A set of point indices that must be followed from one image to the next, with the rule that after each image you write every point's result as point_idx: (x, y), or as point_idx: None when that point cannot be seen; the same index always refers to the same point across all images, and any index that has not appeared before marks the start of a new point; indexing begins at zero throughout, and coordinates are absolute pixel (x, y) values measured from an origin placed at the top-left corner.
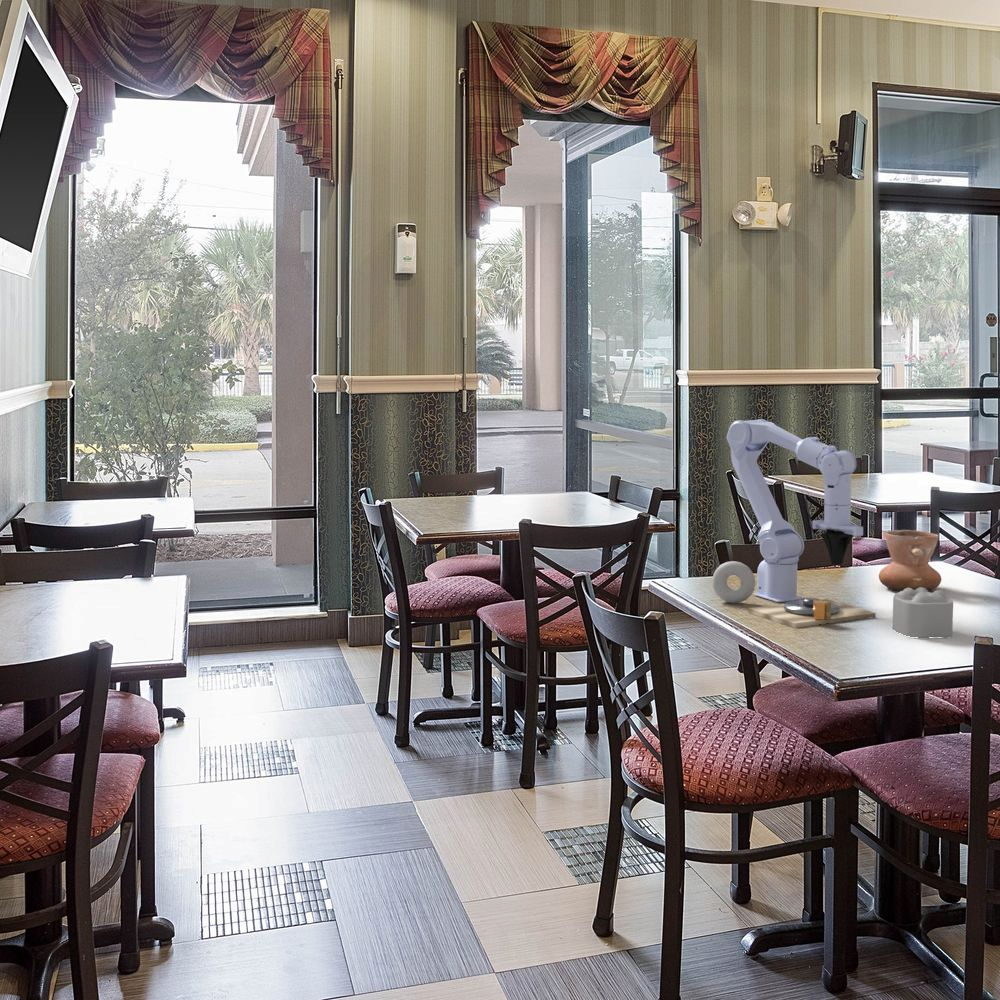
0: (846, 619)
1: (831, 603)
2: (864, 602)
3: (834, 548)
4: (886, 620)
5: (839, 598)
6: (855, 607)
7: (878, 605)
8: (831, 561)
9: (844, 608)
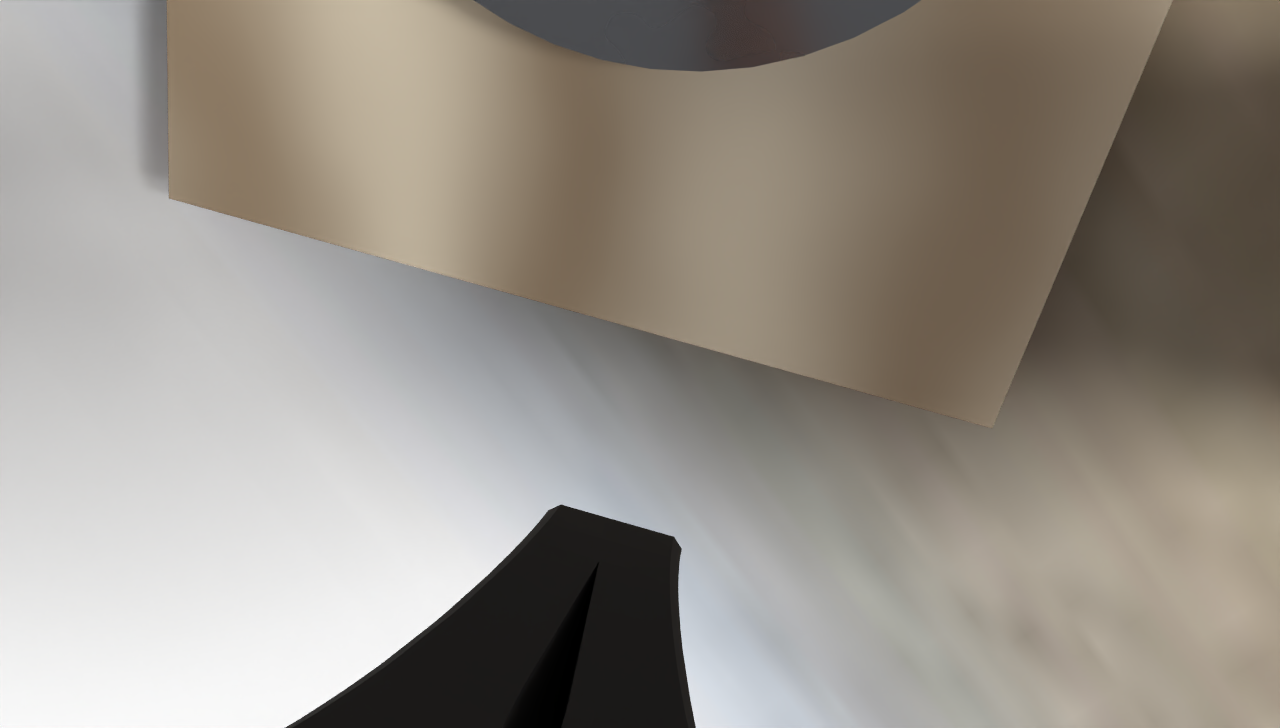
0: None
1: (597, 23)
2: (725, 677)
3: (358, 708)
4: (54, 148)
5: (1022, 688)
6: (474, 275)
7: None
8: (648, 550)
9: (508, 131)
